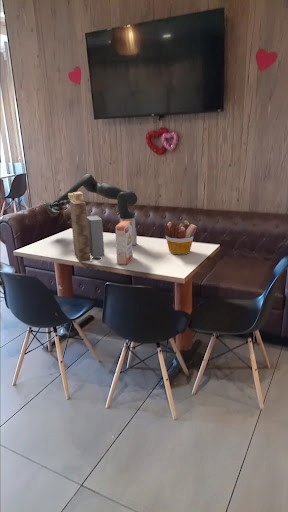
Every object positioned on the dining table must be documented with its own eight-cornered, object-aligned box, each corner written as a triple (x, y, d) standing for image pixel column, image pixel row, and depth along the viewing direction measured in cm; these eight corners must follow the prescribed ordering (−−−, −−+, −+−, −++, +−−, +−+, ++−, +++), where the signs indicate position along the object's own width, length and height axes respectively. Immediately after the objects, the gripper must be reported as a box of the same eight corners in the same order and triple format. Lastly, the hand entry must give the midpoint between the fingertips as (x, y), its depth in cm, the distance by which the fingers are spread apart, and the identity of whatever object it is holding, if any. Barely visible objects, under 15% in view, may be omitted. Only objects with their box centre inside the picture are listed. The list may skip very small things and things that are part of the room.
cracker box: (127, 265, 192) (125, 226, 185) (116, 264, 193) (114, 226, 187) (133, 256, 205) (132, 220, 198) (123, 256, 206) (121, 220, 200)
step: (99, 250, 218) (96, 215, 212) (104, 256, 208) (102, 219, 201) (88, 252, 216) (85, 216, 210) (93, 257, 206) (90, 220, 199)
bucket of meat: (175, 246, 222) (174, 214, 216) (199, 250, 213) (200, 216, 207) (158, 255, 206) (157, 220, 200) (184, 259, 198) (184, 223, 192)
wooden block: (84, 253, 214) (80, 199, 204) (90, 260, 201) (85, 202, 191) (74, 255, 212) (69, 200, 202) (79, 261, 199) (74, 203, 189)
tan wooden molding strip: (75, 197, 212) (74, 188, 211) (83, 203, 191) (83, 193, 190) (68, 197, 211) (67, 189, 210) (76, 203, 190) (75, 194, 188)
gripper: (69, 208, 241) (75, 206, 226) (48, 214, 235) (53, 211, 221) (66, 197, 240) (72, 194, 225) (45, 202, 234) (49, 199, 220)
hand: (62, 203), depth 223 cm, fingers open, 8 cm apart
